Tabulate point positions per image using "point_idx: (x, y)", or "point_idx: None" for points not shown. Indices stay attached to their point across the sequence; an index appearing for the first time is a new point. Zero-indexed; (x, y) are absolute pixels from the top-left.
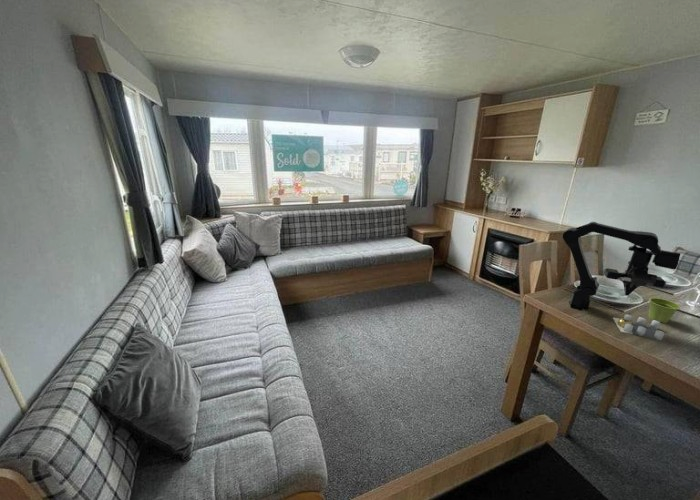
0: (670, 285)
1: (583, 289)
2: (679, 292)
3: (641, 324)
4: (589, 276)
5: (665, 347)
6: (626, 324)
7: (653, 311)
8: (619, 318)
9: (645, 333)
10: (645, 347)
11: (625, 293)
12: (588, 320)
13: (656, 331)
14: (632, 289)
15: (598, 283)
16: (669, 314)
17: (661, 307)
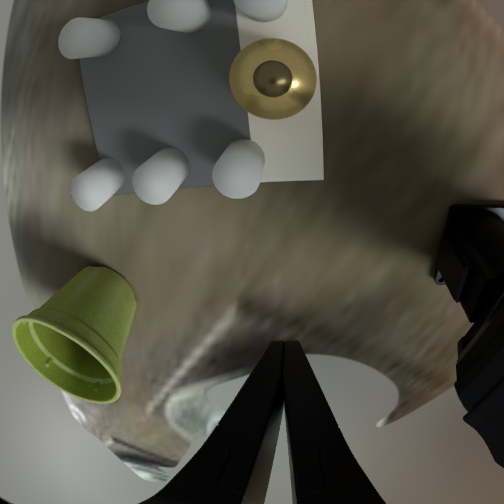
0: (125, 461)
1: None
2: (106, 444)
3: (162, 151)
4: None
5: None
6: None
7: (107, 312)
8: (313, 94)
9: (154, 49)
10: None
11: (307, 361)
12: (472, 66)
13: (94, 28)
14: (239, 435)
15: (475, 423)
16: (49, 299)
17: (62, 324)
